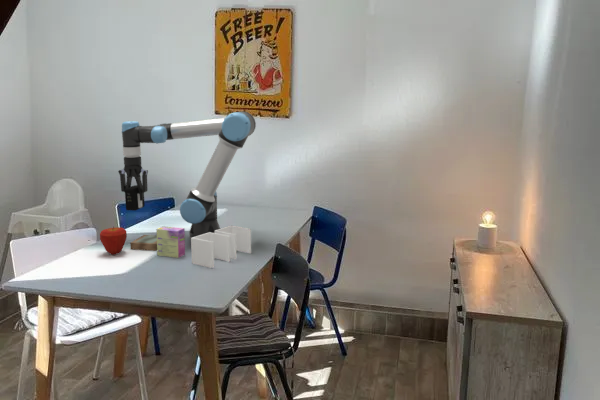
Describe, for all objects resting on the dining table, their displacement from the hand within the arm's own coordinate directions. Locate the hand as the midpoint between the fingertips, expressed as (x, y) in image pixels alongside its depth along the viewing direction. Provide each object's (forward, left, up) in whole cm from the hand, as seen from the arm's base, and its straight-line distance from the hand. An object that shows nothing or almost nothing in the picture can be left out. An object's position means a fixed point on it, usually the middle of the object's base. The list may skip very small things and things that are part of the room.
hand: (135, 207), depth 265 cm
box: (-24, +17, -17) cm, 34 cm away
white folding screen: (-46, +17, -17) cm, 52 cm away
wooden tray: (-9, +5, -16) cm, 19 cm away
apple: (+1, +20, -17) cm, 26 cm away
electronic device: (0, 0, -1) cm, 1 cm away
